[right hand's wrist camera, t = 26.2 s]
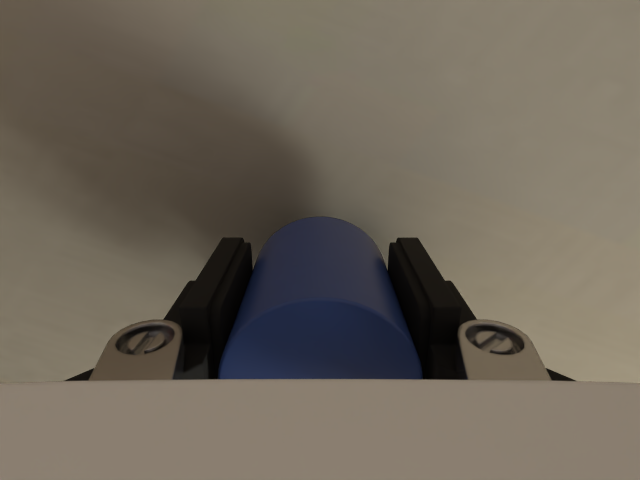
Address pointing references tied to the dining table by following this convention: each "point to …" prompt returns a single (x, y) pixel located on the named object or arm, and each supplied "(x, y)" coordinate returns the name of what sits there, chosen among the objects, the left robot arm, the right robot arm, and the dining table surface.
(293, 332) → the canister
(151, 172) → the dining table surface
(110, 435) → the right robot arm
